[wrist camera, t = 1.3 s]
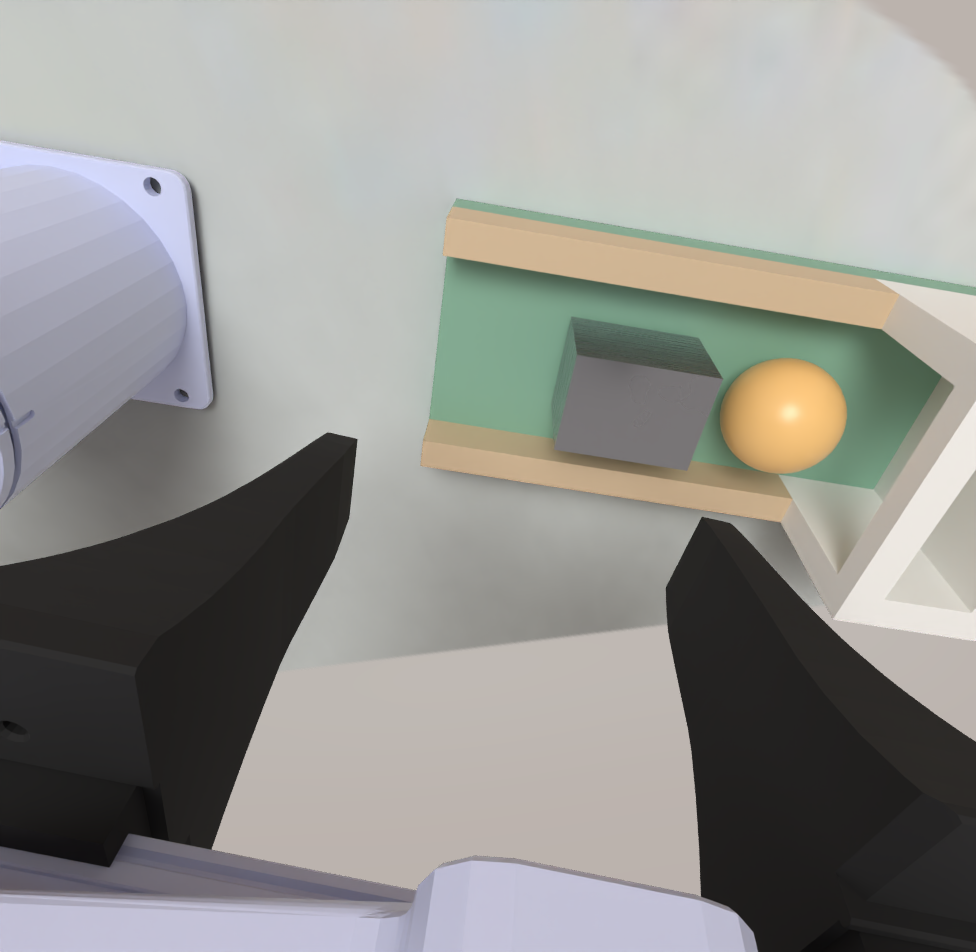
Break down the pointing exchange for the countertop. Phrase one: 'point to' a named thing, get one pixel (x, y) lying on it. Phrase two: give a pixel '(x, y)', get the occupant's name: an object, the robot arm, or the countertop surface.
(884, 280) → the pitch
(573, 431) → the block
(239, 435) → the countertop surface
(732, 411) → the ball
